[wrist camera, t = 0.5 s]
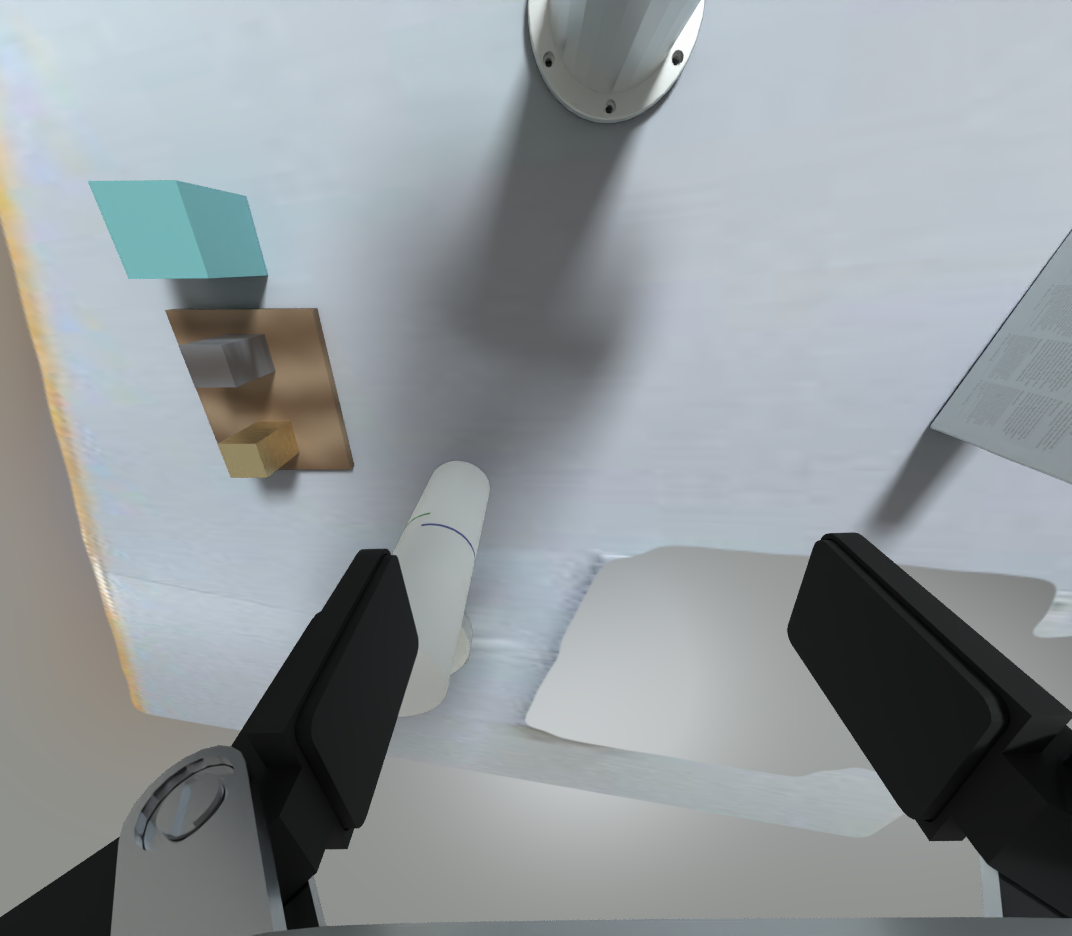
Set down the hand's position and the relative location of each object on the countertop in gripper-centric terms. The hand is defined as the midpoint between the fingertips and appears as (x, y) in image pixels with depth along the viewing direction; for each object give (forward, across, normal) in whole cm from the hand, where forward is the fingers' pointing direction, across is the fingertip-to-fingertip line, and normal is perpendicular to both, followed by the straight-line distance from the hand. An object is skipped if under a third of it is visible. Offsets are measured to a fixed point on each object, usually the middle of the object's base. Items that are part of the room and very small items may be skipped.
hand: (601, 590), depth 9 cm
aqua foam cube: (+35, +30, -10) cm, 47 cm away
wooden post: (+35, +30, +9) cm, 47 cm away
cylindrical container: (+35, +12, +16) cm, 40 cm away
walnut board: (+35, +30, +4) cm, 46 cm away
